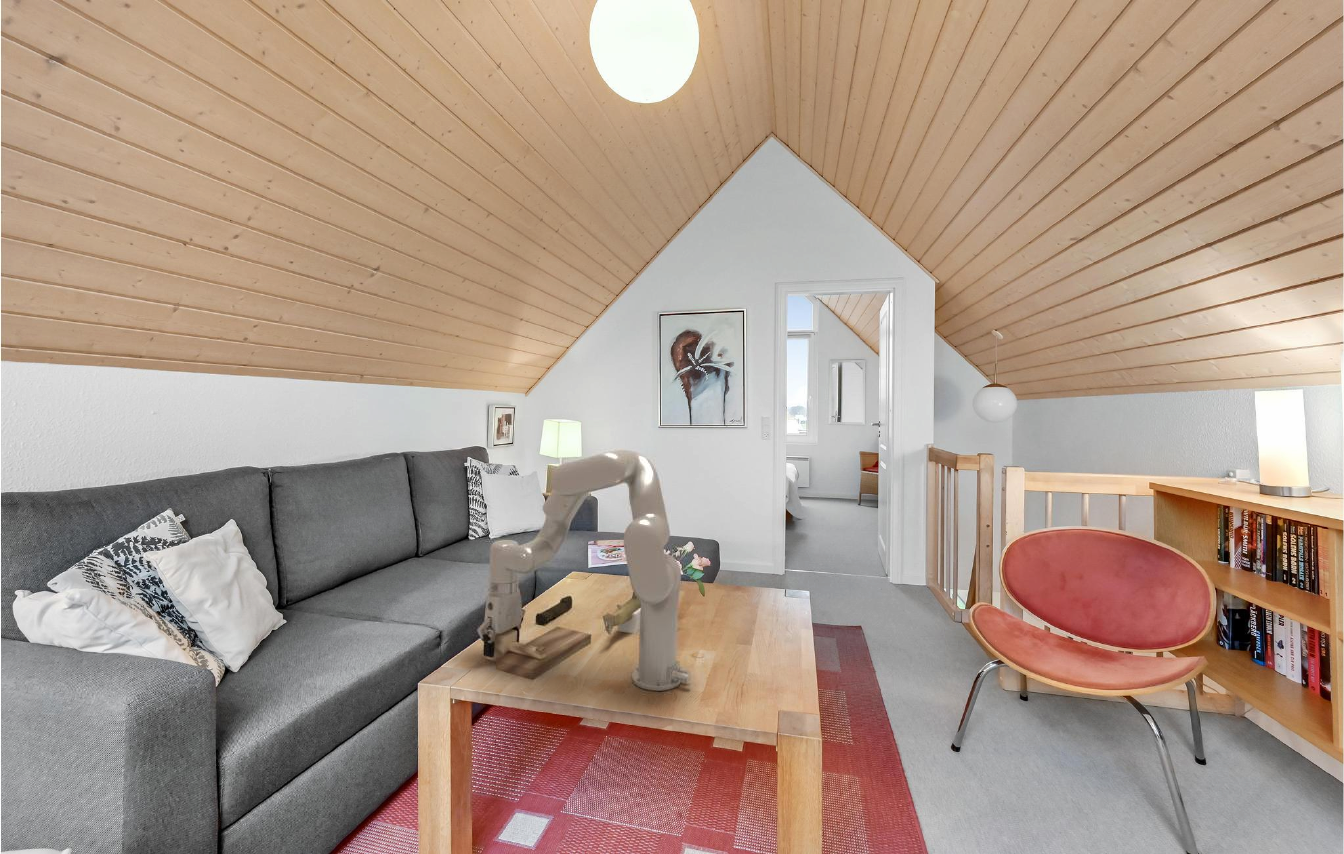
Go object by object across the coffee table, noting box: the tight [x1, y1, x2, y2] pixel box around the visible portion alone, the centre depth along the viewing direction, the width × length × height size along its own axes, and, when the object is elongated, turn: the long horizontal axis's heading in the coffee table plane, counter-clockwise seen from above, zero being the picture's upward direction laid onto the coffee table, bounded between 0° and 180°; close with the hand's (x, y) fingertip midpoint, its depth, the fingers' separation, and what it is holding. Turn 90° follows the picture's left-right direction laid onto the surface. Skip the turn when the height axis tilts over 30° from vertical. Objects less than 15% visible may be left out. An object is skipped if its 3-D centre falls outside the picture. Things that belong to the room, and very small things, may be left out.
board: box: [495, 626, 592, 680], centre depth 151 cm, size 12×26×3 cm, turn 155°
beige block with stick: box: [485, 629, 546, 662], centre depth 146 cm, size 17×5×7 cm, turn 65°
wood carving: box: [602, 591, 641, 635], centre depth 170 cm, size 9×35×11 cm, turn 161°
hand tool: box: [535, 595, 573, 626], centre depth 181 cm, size 19×4×5 cm, turn 157°
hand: (501, 649), depth 149 cm, fingers open, 9 cm apart
